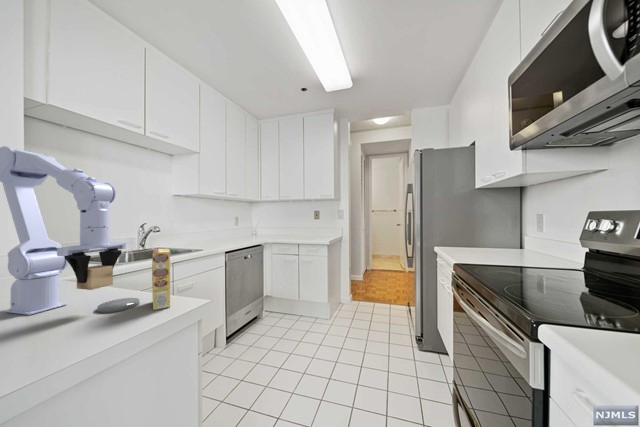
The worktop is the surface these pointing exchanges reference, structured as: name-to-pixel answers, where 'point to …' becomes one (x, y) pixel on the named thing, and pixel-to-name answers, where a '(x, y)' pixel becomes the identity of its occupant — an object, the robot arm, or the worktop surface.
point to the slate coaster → (118, 305)
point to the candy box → (161, 278)
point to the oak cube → (97, 277)
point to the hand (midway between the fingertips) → (94, 279)
